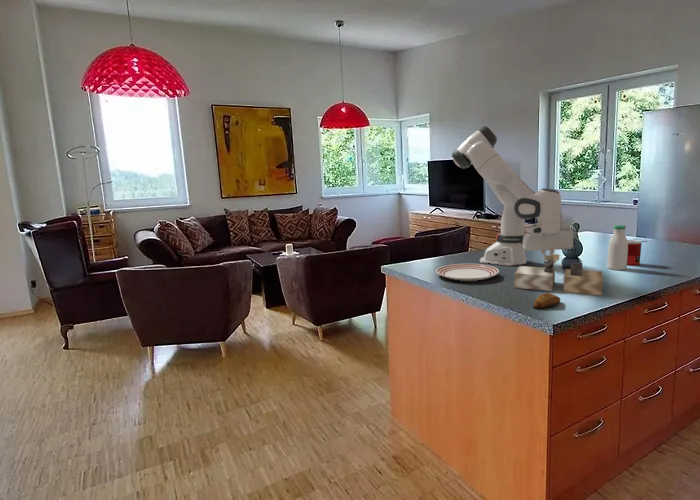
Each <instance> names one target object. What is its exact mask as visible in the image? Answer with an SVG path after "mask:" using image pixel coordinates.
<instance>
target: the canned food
mask: <svg viewBox="0 0 700 500" xmlns="http://www.w3.org/2000/svg"><path fill="white" fill-rule="evenodd" d="M627 241H628V255H627V267H628V266H629V267H630V266H631V267H635V266H640V263H641V256H642V255H641V253H642V241H641V240H632V239H627Z"/></svg>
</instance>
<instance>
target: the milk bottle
mask: <svg viewBox="0 0 700 500" xmlns="http://www.w3.org/2000/svg"><path fill="white" fill-rule="evenodd" d="M625 231H626V225H625V224H615V225H613V234H612V235H611V237H610V238H609V242H608V247H607V249H608V250H607V261H606V262H607V263H606V266H607V267H606V268H607V269H609V270H614V271H615V270H617V271H624V270H625V271H626V269H627V267H628V265H627V255H628V241H627V240H628V239H627V236H626V234H625Z"/></svg>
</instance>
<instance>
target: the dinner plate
mask: <svg viewBox="0 0 700 500" xmlns="http://www.w3.org/2000/svg"><path fill="white" fill-rule="evenodd" d="M435 272H436V274H438V275H440V276H441V277H444V278H446V279H449V280H452V279H453V280H452V281H457V280H460V281H459V282H479V281H478V280H481V281H484V279H485V280H487V279H491V278H493V277H495V276H497V275H498V274H499V273H500V270H499V269H498V267H496V266H492V265H490V264H483V263H482V264H481V263H453V264H448V265H442V266H440V267H438V268H437V269H436V270H435Z"/></svg>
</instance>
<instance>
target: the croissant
mask: <svg viewBox="0 0 700 500" xmlns="http://www.w3.org/2000/svg"><path fill="white" fill-rule="evenodd" d="M560 302H561V298H560V297H559V296H558V295H555V294H553V293H550V292H544V293H541V294H540V295H538V297H537V298H536V299H535V301H534V302H533V305H532V307H533V308H534V309H546V308H552V307H555V306H557V305H558V304H560Z"/></svg>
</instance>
